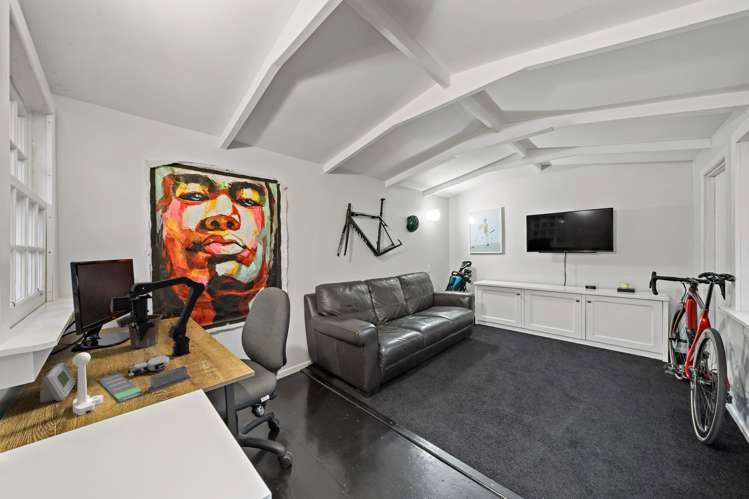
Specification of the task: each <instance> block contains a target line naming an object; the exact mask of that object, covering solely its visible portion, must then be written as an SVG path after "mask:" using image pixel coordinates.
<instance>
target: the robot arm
mask: <svg viewBox="0 0 749 499" xmlns="http://www.w3.org/2000/svg"><path fill="white" fill-rule="evenodd" d="M178 285H184V286H185V287H188V297H187V300H186V302H185V303H184V306H183V308H182V311H181V313H180V315H179V317H178V320H177V322H176V323H175V324H174V325H173V324H171V325H170V329H169V331H168V332H167V333H168V338H169V339H170V340H171V341H173V346H172V347H171V348H172V349H171V350H172V354H171V355H173V356H175V357H176V358H177V357H181V356H184V355H187V354H190V353H191V351H190V341H191V338H189V337H188V336H187V331H188V330H187V328H188V327H187V325H188V322H189V321H190V317H191V315H192V313H193V311H194V309H195V307H196V304H197V303H198V302H197V301H198V300H199V298H200V297H201V296H202V295H203V294H204V292H205V291H206V285H205V283H203V282H199V281H195V280H193V279H192V278H189V277H188V276H186V275H181V276H178V277H172V278H167V279H161V280H158V281H145V282H143V281H142V282H136V283H133V284H132V286H131V288H130V291H129V292H127V294H126V295H125V296H119V297H116V296H115V297H113V296H112V297H111V301H110V304H109V305H110V306H109V308H110V311H111V313H119V312H125V311H127V312H128V311H129V309H131V308H132V311H130V313H129V314H128V315H126V316H123V317H121V318H119V319H117V320H116V321H115V322H116V325H117V326H118V327H119V328H120V329H122V328H123V329H124V328H125V327H127V326H128V325H129V324H131V323H132V326H130V327H131V328H133V329H134V330H135V332H136V335H137V338H138V340H140V341H142V340H143V339H144V337H145V335H146V333H147V331H148V330H149V328H153V327H155V323H154V322H152V321H149V318H148V315H149V313H150V310H149V303H148V302H149V301H148V300H150V299H153V298H154V297H153V296H152V295H151V294H150V293H153V292H154V291H157V290H160V289H164V288H169V287H174V286H178Z"/></svg>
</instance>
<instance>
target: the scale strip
mask: <svg viewBox="0 0 749 499" xmlns="http://www.w3.org/2000/svg"><path fill="white" fill-rule="evenodd" d="M97 382H98V383H100V384H101V385H102V387H104V389H106V391H107V392H109V393H110V394H111V395H112V396H113V398H115V400H117V402H119V403H121V404H122V403H124V402H127V401H131V400H133V399H136V398H138V397H140V396H144V395H145V392H144V391H142V390H141V389H140V388H139V387H138V386H136V385H134V384H133V382H132V381H130V380H129V379H127V378H126V377H125V376H123V375H122V374H121V373H120V372H119V373H114V374H111V375H108V376H105V377H100V378H97Z"/></svg>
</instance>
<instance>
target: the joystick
mask: <svg viewBox="0 0 749 499" xmlns="http://www.w3.org/2000/svg"><path fill="white" fill-rule="evenodd" d="M91 359H92V358H91V354H90V353H88V352H79V353H77V354H76V355H75V356H74V357H73V358H72V364H73V365H74V366H76V367H77V391H76V392H77V394H76V395H77V397H76V398H75V399H73V402H72V412H73V413H74V414H75V413H76V414H75V415H77V414H78V415H77V416H83V414H84V415H86V412H88V411H90V412H91V411H95V407H96V406H98V405H100V404H102V403H103V402H104V395H103V394H100V395H98V394H97V395H94V396H92V397H91V396H90V394H88V390H87V389H88V388H87V386H88V385H87V367H86V366H87V364H88V363H89V362H90V361H91Z"/></svg>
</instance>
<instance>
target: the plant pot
mask: <svg viewBox="0 0 749 499" xmlns="http://www.w3.org/2000/svg"><path fill="white" fill-rule="evenodd" d="M162 317H163V315H161V314H148V318H149V321H152V322H154V323H155V327H153V328H149V330H148V331H147V333H146V335H145V337H144V339H143V340H142V341H140V340H138V338H137V335H136V332H135V330H134V329H133V328H131V327H130V326H132V323H131V324H129V325H127V328H128V333H129V342H130V348H131V349H145V348H149V347H152V346H156V344H158V343H159V334H160V332H159V331H160V325H161V323H162V322H161V321H162Z"/></svg>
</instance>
